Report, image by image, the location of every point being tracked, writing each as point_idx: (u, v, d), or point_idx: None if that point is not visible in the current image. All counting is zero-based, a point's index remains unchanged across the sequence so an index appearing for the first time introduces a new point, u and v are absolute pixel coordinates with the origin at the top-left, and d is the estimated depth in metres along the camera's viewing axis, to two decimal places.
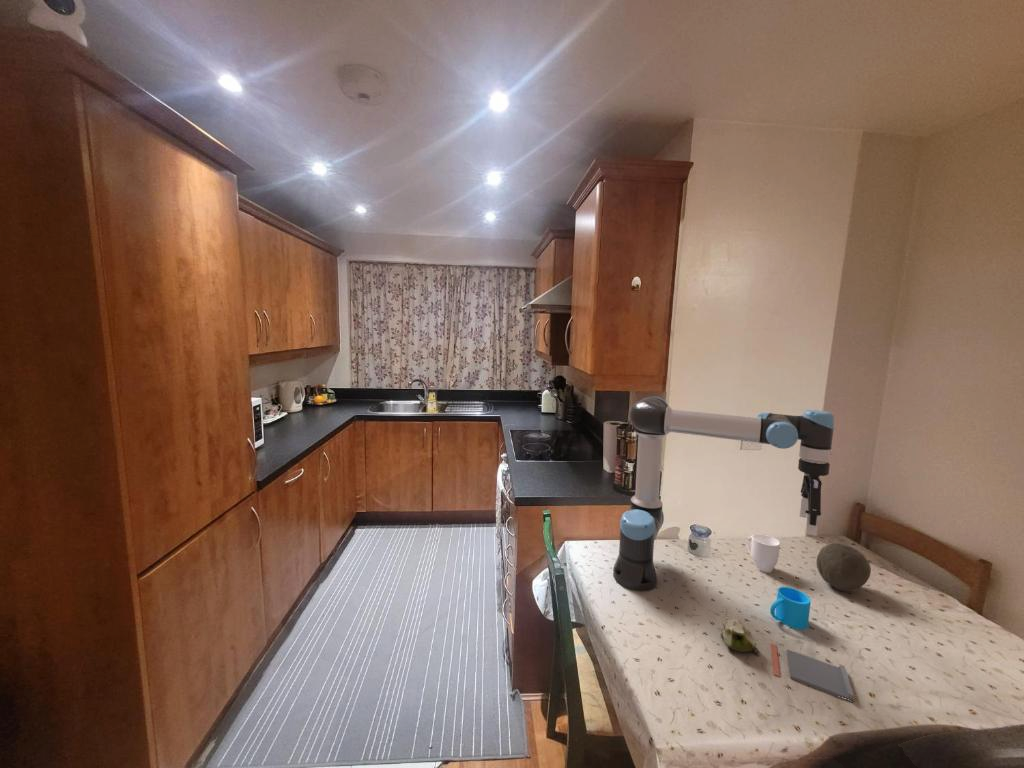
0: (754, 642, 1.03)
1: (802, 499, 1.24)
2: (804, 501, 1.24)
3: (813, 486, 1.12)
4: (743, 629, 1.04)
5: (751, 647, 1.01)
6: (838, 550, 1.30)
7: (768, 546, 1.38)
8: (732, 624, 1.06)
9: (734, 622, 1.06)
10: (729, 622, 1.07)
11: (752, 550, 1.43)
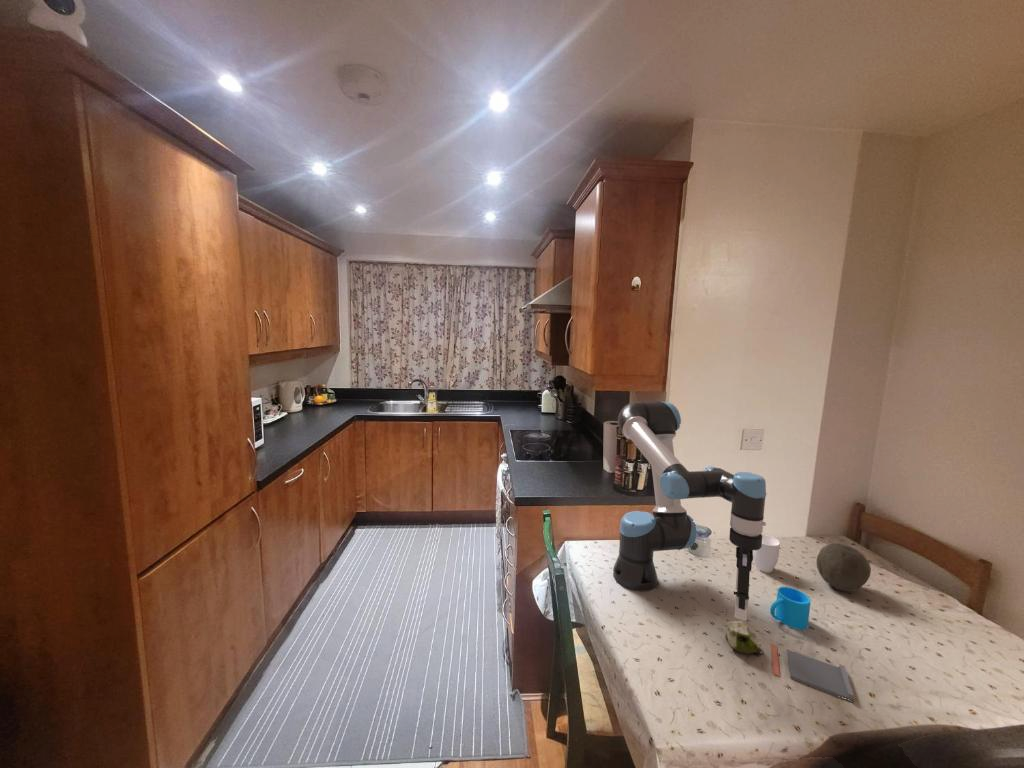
0: (759, 643, 1.02)
1: (737, 570, 1.10)
2: None
3: (742, 564, 0.97)
4: (748, 630, 1.04)
5: (756, 649, 1.01)
6: (838, 550, 1.30)
7: (768, 546, 1.38)
8: (737, 625, 1.05)
9: (738, 623, 1.06)
10: (733, 623, 1.06)
11: None
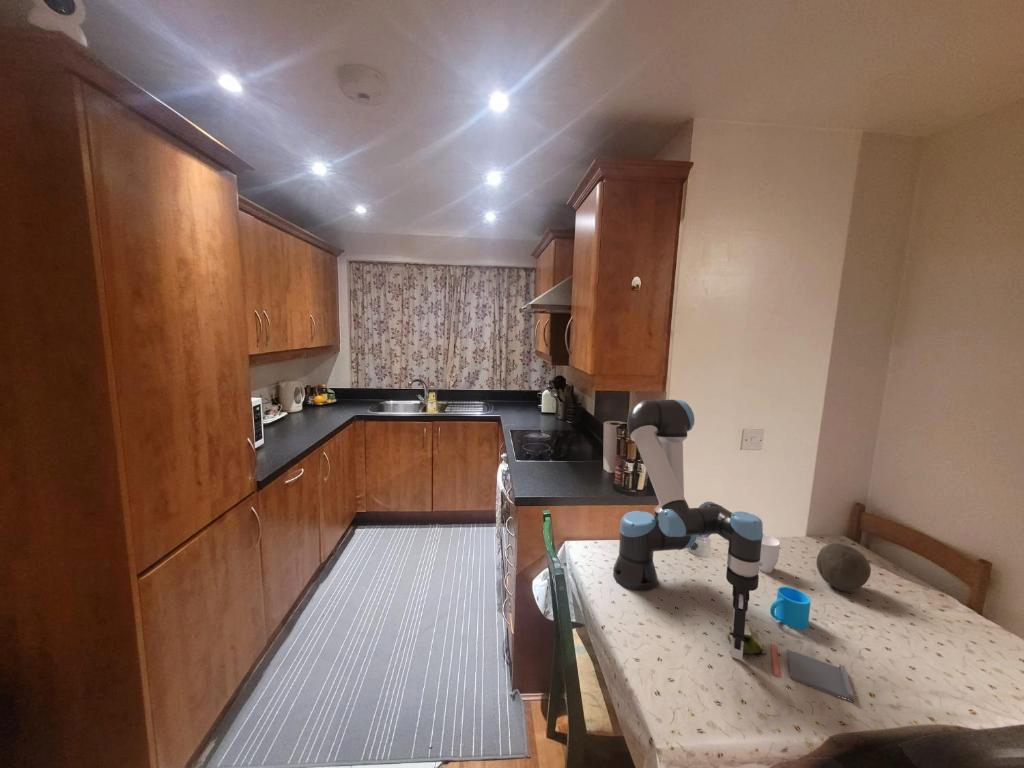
0: (761, 644, 1.02)
1: (734, 612, 1.10)
2: None
3: (738, 607, 0.99)
4: (750, 631, 1.04)
5: (759, 649, 1.00)
6: (838, 550, 1.30)
7: (768, 546, 1.38)
8: None
9: None
10: None
11: None
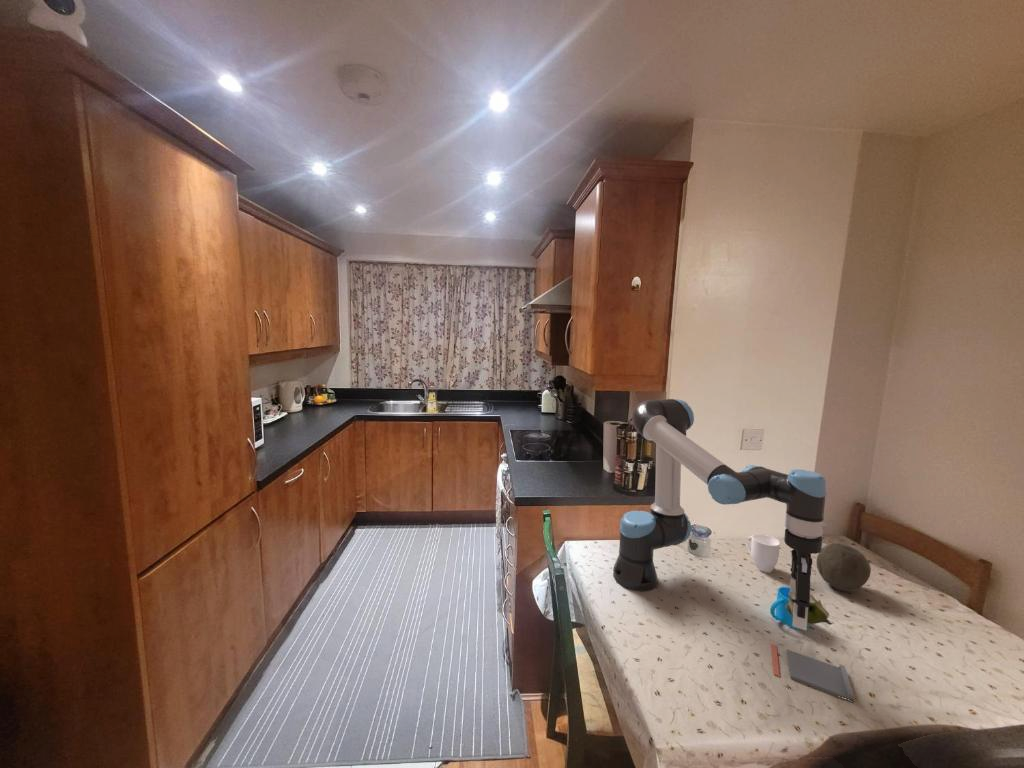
0: (826, 613, 0.93)
1: (792, 581, 1.01)
2: (794, 584, 1.01)
3: (801, 570, 0.91)
4: (813, 599, 0.95)
5: (824, 618, 0.92)
6: (838, 550, 1.30)
7: (768, 546, 1.38)
8: None
9: None
10: None
11: (752, 550, 1.43)
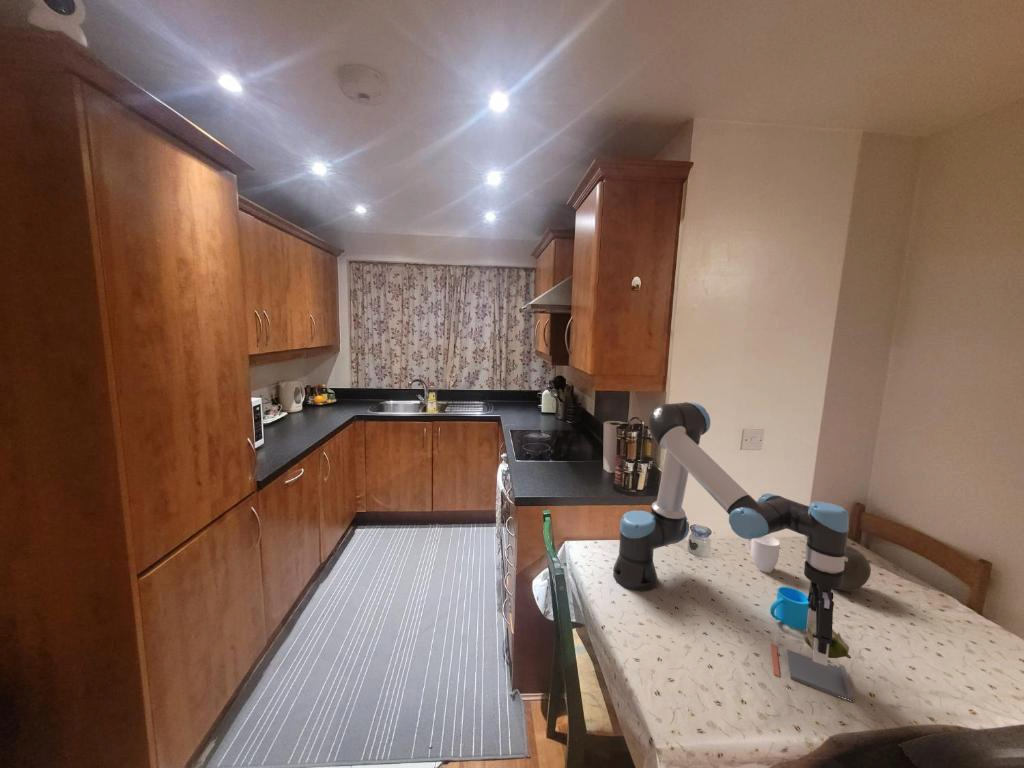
0: (846, 647, 0.92)
1: (809, 612, 1.00)
2: (812, 615, 1.00)
3: (823, 606, 0.89)
4: (832, 633, 0.94)
5: (845, 653, 0.91)
6: None
7: (768, 546, 1.38)
8: None
9: None
10: (815, 625, 0.96)
11: (752, 550, 1.43)
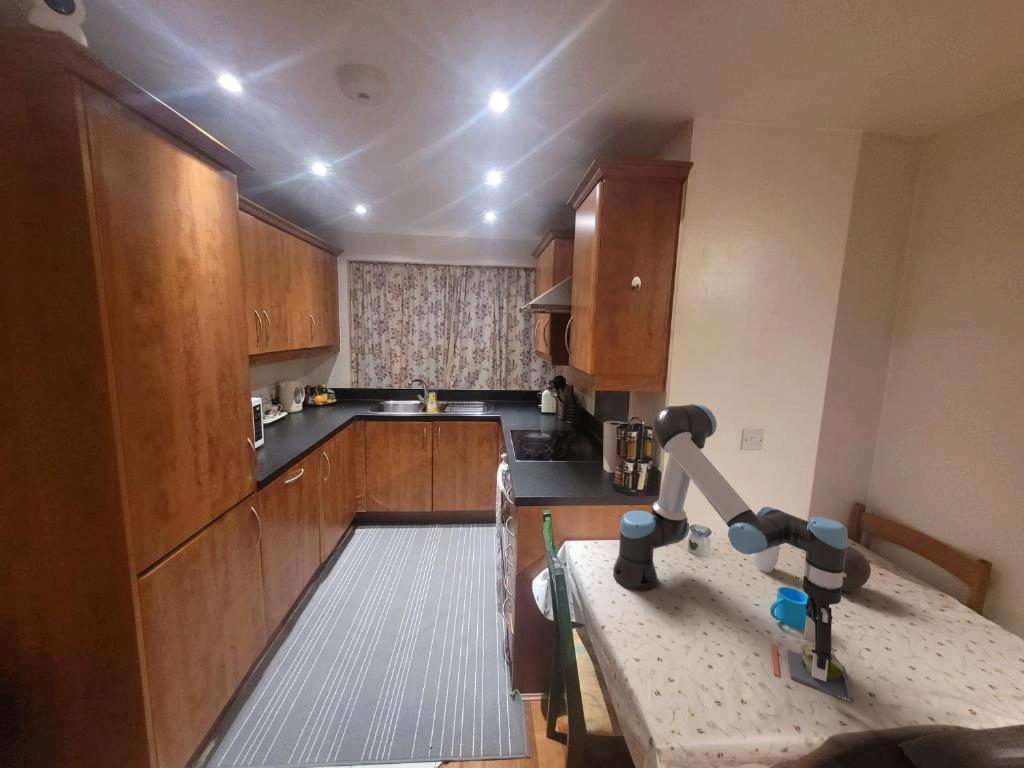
0: (841, 666, 0.93)
1: (807, 619, 1.02)
2: (809, 622, 1.02)
3: (822, 620, 0.90)
4: None
5: (840, 673, 0.91)
6: None
7: None
8: (813, 648, 0.96)
9: (814, 645, 0.97)
10: (809, 646, 0.97)
11: None
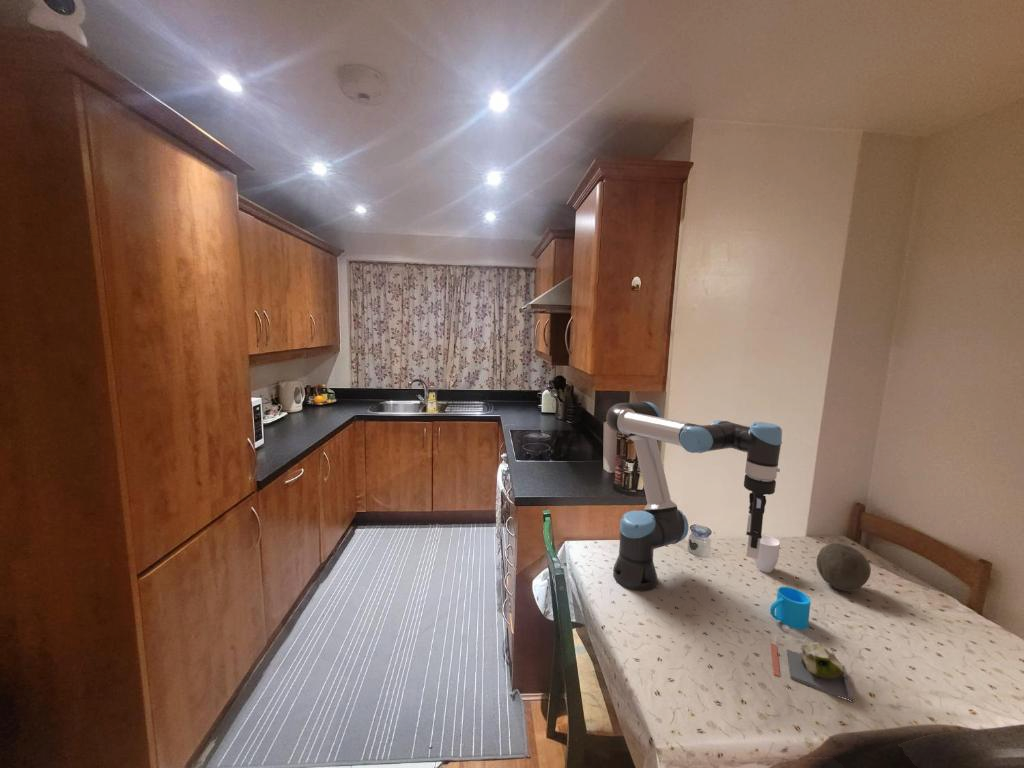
0: (841, 666, 0.93)
1: (749, 516, 1.16)
2: (751, 519, 1.15)
3: (756, 506, 1.03)
4: (826, 652, 0.95)
5: (840, 673, 0.91)
6: (838, 550, 1.30)
7: (768, 546, 1.38)
8: (813, 648, 0.96)
9: (814, 645, 0.97)
10: (809, 646, 0.97)
11: None
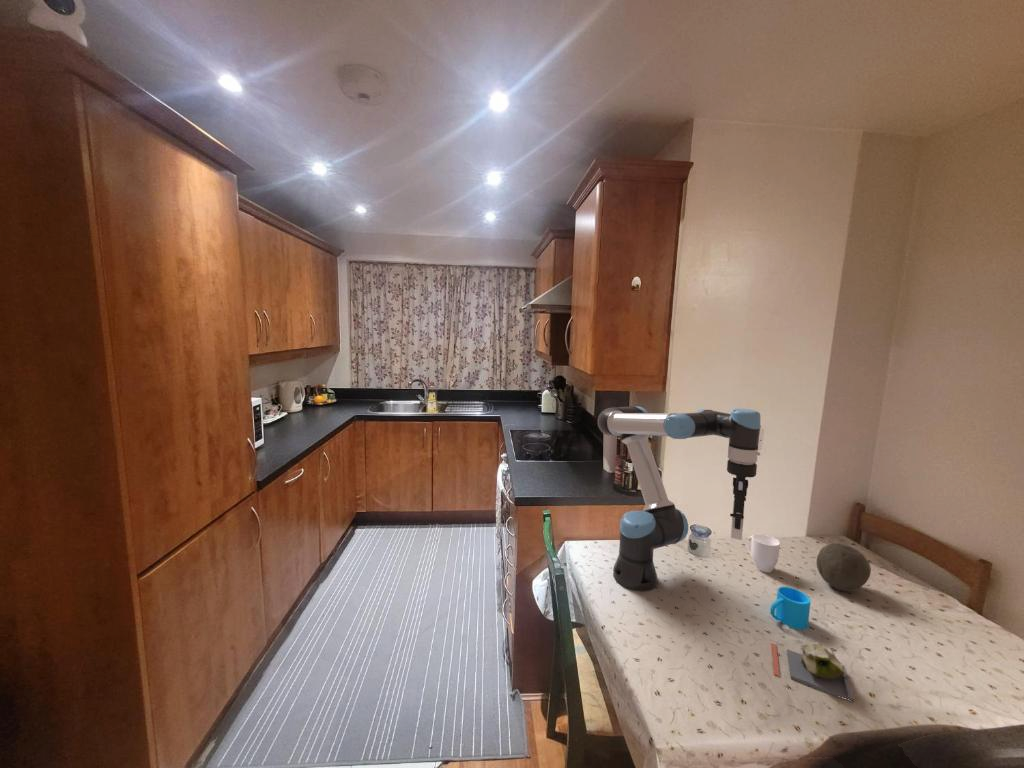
0: (841, 666, 0.93)
1: None
2: None
3: (738, 488, 1.07)
4: (826, 652, 0.95)
5: (840, 673, 0.91)
6: (838, 550, 1.30)
7: (768, 546, 1.38)
8: (813, 648, 0.96)
9: (814, 645, 0.97)
10: (809, 646, 0.97)
11: (752, 550, 1.43)
